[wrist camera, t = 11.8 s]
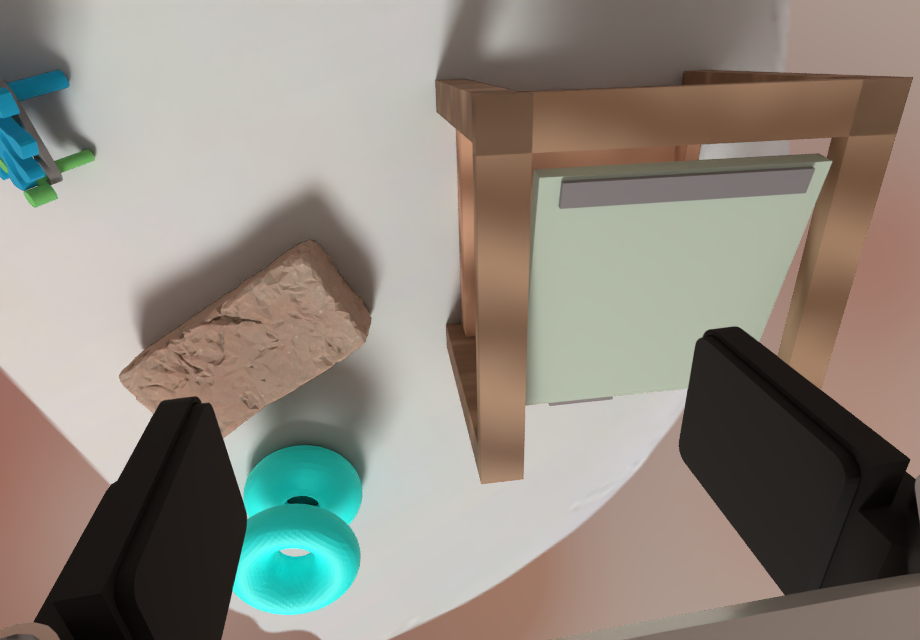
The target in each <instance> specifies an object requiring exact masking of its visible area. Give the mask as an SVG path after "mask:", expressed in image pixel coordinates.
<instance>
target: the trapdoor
mask: <svg viewBox="0 0 920 640" xmlns="http://www.w3.org/2000/svg"><path fill="white" fill-rule="evenodd" d="M831 164H832V160H830V159H828V158H826V157H824V156H822V155H820V154H801V155H783V156H765V157H747V158H729V159H711V160H693V161H675V162H657V163H639V164H621V165H603V166H585V167H567V168H549V169H534V174H533V186H532V199H531V211H530V247H529V285H528V323H527V361H526V399H525V405H534V404H544V403H554V402H563V401H573V400H582V399H592V398H601V397H611V396H621V395H630V394H640V393H649V392H659V391H669V390H678V389H688V385H689V379H690V373H691V367H692V361H693V355H694V349H695V344H696V341H697V340H698V339H699V338H702V337H703V334H704V333H705V331H707V330H709V329H717V328H725V327H732V326H738V327H740V328H741V329H743V330H744V331H745V332H747V333H748V334H749V335H751V336H752V337H753V338H754V339H756V340H757V341H758V342H759V340H760V338H761V335H762V333H763V331H764V328H765V326H766V323H767V321H768V318H769V316H770V313H771V311H772V308H773V306H774V304H775V301H776V299H777V296H778V294H779V291H780V289H781V286H782V284H783V282H784V279H785V277H786V274H787V272H788V269H789V267H790V264H791V262H792V259H793V257H794V254H795V252H796V250H797V247H798V245H799V242H800V240H801V237H802V235H803V233H804V230H805V227H806V225H807V223H808V220H809V218H810V215H811V213H812V210H813V208H814V205H815V203H816V201H817V198H818V196H819V193H820V191H821V188H822V186H823V183H824V181H825V179H826V176H827V174H828V171H829V169H830V166H831Z"/></svg>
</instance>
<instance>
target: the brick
mask: <svg viewBox="0 0 920 640" xmlns="http://www.w3.org/2000/svg"><path fill="white" fill-rule="evenodd" d="M363 304H364V302H363V301H362V299H361V298H360V297H359V296H358V295H356V293H354V292H353V291H352V289H351V288H350V287H349V286H348V284H347V283H346V282H345V280H344V278H342V277H341V275H340V274H339V272H338V270H337V268H336V267H335V266H334V264H333V262H332V260H331V258H330V257H329V255H328V254H327V253H326V252H325V251H324V250H323V249H322V248H321V246H320V245H319V244H317V243H316V242H314V241H312V240H307V241H306V242H301V243H299V244H298V245H297V246H295V247H294V248H291V249H289V250H288V251H287V252H285V253H284V254H283V255H281V256H280V257H279V258H277V259H276V260H275V261H274V262H272V263H271V264H270V265H269V266H268V268H266V269H264V270H262V271H260V272H259V273H257V274H256V275H254V276H252V277H250V278H248V279H246V280H245V281H243V282H242V283H241V284H240V285H239V287H238V288H236V289H235V290H233V291H232V292H229V293H227V294H225V295H224V296H222V297H221V298H220V299H219V300H217V301H216V302H214V303H212V304H211V305H209V306H208V307H206V308H205V309H204V310H202V311H201V312H199V313H198V314H196V315H195V316H193V317H192V318H190V319H189V320H188V321H186V322H185V323H184V324H182V325H181V326H179V327H178V328H177V329H175V330H173V331H172V332H170V333H169V334H167V335H166V336H165V337H163V338H162V339H160V340H159V341H158V342H156V343H155V344H153V345H151V346H150V347H148V348H147V349H145V350H144V351H143V352H141V353H140V354H139V355H138V356H137V357H135V359H134V360H133V361H132V362H131V363H130V364H129V365H128V366H127V367H126V368H124V369H123V370H122V371H121V373H120V375H119V379H120V381H121V383H122V384H123V386H124V387H125V388H126V389H128V390H129V391H130V392H131V393H132V394H133V395H135V396H136V399H137V401H139V402H140V403H142V404H143V405H144V406H145V407H146V408H148V409H149V410H150V411H151V412H152V413H153V414H154V413H155V411H156V409H157V407H158V405H159V404H160V403H161V401H163V400H169V399H177V398H185V397H192V396H197V397H198V398H199V399H200V400H201V402H202V403H210V404H211V405H212V407H213V409H214V412H215V415H216V418H217V421H218V425H219V428H220V431H221V434H222V437H223V438H224V437H226V436H227V435H228V434H230V433H231V432H232V431H234V430H235V429H236V428H237V427H238V426H240V425H241V424H242V423H244V422H245V421H246V420H248V419H249V418H250V417H251V416H253V415H254V414H256V413H258V412H259V411H260V410H261V409H262V408H264V407H265V406H266V405H267V404H269V403H272V402H274V401H276V400H278V399H280V398H282V397H283V396H285V395H287V394H289V393H290V392H292V391H294V390H295V389H297V388H298V387H300V386H301V385H303V384H304V383H306V382H308V381H310V380H311V379H313V378H315V377H316V376H318V375H320V374H321V373H323V372H324V371H326V370H328V369H329V368H331V367H332V366H333V365H334V364H336V363H337V362H339V361H342V360H343V359H345V358H346V357H348V356H349V355H350V354H351V353H352V352H353V351H354V350H356V349H358V348H360V347H361V346H362V344H363V343H364V342H366V337H367V336H368V332H369V328H370V325H371V317H370V315H369V312H368V310H367V308H366V307H365V306H364V305H363Z"/></svg>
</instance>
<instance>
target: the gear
mask: <svg viewBox="0 0 920 640" xmlns="http://www.w3.org/2000/svg"><path fill="white" fill-rule="evenodd" d="M68 87H69V83H68V80H67V78H66V77H65V75H64V74H63V73H62V72H61V71H60V70H56V71H52V72H48V73H45V74H41V75H37V76H33V77H29V78H25V79H21V80H18V81H14V82H10V83H6V82H5V81H4V80H3V79H0V177H1V178H2V179H3V180H6V179H8V178H10V179H11V181H12V182H13V184H14V185H15V186H16V187H18V188H19V189H21V190H23V191H24V195H25V197H26V199H27V200H28V202H29V203H30V204H31V205H32V206H33V207H38V206H40V205H43V204H45V203H48V202H50V201H53V200H55V199H58V197H57V194H56V192H55V191H54V189H53V188H52V187H51V186H50V185H53V184H55V183H58V182H60V181H62V180H63V178H62V175H61V173H62V172H64V171H67V170H70V169H73V168H75V167H78V166H81V165H83V164H86V163H89V162H91V161H94V160H95V158H94V156H93V154H92V153H91V151H90V150H88V149H87V150H84V151H81V152H79V153H76V154H73V155H70V156H67V157H65V158H62V159H59V160H56V161H54V160H53V159H52V157H51V155H50V154H49V152H48V150H47V148H46V147H45V145H44V143H43V142H42V140H41V138H40V137H39V135H38V133H37V131H36V130H35V128H34V126H33V125H32V123H31V121H30V120H29V118H28V116H27V114H26V113H25V111H24V109H23V108H22V106H21V104H20V103H19V101H22V100H25V99H29V98H32V97H36V96H40V95H43V94H47V93H50V92H54V91H57V90H61V89H64V88H68ZM32 156H33V157H34V159H33V157H32ZM35 186H37V187H35ZM33 187H35V188H33ZM30 188H32V189H30ZM27 189H29V190H27ZM25 190H27V191H25Z"/></svg>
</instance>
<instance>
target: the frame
mask: <svg viewBox="0 0 920 640" xmlns="http://www.w3.org/2000/svg"><path fill="white" fill-rule="evenodd" d="M912 80H913V77H891V76H863V75H835V74H833V75H832V74H807V73H779V72H751V71H723V70H699V71H684V76H683V83H682V85H668V86H643V87H617V88H592V89H566V90H541V91H514V90H510V89H506V88H501V87H497V86H493V85H489V84H484V83H480V82H476V81H471V80H467V79H452V80H435V86H436V109H437V113H438V114H440V115H441V116H442V117H443V118H444V119H445V120H447V121H448V122H449V123H450V124H451V125H452V126H453V127H455V128H456V145H457V178H458V212H459V245H460V278H461V312H462V324H451V325H446V337H447V349H448V353H449V357H450V361H451V365H452V369H453V373H454V377H455V381H456V385H457V389H458V393H459V397H460V401H461V405H462V409H463V413H464V417H465V421H466V425H467V429H468V433H469V437H470V441H471V445H472V449H473V453H474V457H475V461H476V465H477V469H478V473H479V477H480V481H481V484H487V483H495V482H504V481H512V480H521V479H523V475H524V437H525V399H526V361H527V323H528V285H529V247H530V211H531V199H532V186H533V174H534V169H549V168H567V167H585V166H603V165H621V164H639V163H657V162H675V161H693V160H699V154H700V147H701V144H717V143H736V142H755V141H774V140H793V139H811V138H832V139H831V143H830V147H829V151H828V155H827V158H828V159H830V160H832V164H831V166H830V169H829V171H828V174H827V176H826V179H825V181H824V183H823V186H822V188H821V191H820V193H819V196H818V198H817V201H816V203H815V208H814V212H813V215H812V219H811V224H810V227H809V231H808V236H807V239H806V244H805V248H804V252H803V256H802V260H801V264H800V268H799V272H798V276H797V280H796V284H795V288H794V292H793V296H792V300H791V304H790V308H789V312H788V316H787V320H786V324H785V328H784V332H783V336H782V340H781V344H780V348H779V352H778V357H779V358H780V359H782V360H783V361H784V362H785V363H787V364H788V365H789V366H791V367H792V368H793V369H794V370H796V371H797V372H798V373H800V374H801V375H802V376H804V377H805V378H806V379H807V380H809V381H810V382H811V383H813V384H814V385H815V386H816V387H818V388H819V389H820V390H821V388H822V385H823V381H824V378H825V374H826V371H827V368H828V364H829V361H830V357H831V353H832V351H833V347H834V344H835V340H836V337H837V334H838V330H839V327H840V324H841V320H842V316H843V313H844V310H845V307H846V303H847V300H848V296H849V293H850V289H851V286H852V283H853V279H854V276H855V273H856V269H857V266H858V262H859V259H860V256H861V252H862V249H863V246H864V242H865V239H866V235H867V232H868V229H869V225H870V222H871V218H872V215H873V212H874V208H875V205H876V201H877V198H878V195H879V191H880V188H881V185H882V181H883V178H884V174H885V171H886V168H887V164H888V161H889V158H890V154H891V151H892V147H893V144H894V141H895V137H896V134H897V130H898V127H899V124H900V120H901V117H902V113H903V110H904V107H905V103H906V100H907V97H908V93H909V90H910V86H911V83H912Z"/></svg>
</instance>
